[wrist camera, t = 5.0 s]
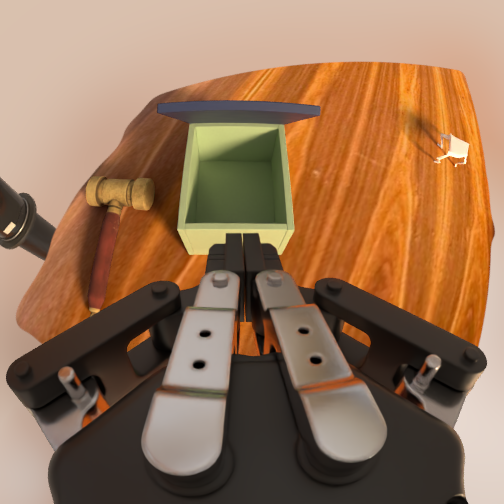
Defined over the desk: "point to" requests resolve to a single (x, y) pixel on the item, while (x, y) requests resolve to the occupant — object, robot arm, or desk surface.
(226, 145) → the box
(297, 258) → the desk surface
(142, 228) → the desk surface
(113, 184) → the gavel
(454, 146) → the miniature stool
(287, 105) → the lid
